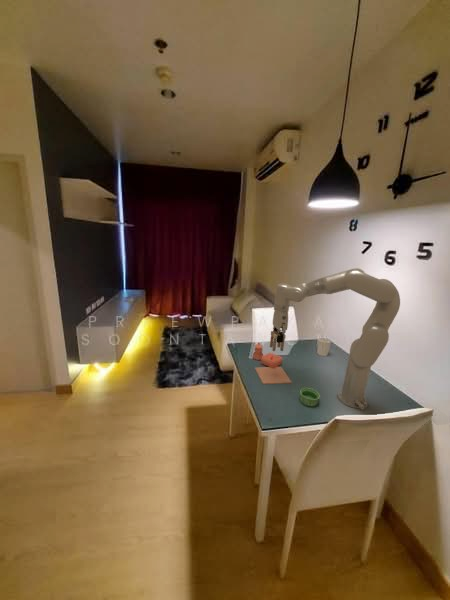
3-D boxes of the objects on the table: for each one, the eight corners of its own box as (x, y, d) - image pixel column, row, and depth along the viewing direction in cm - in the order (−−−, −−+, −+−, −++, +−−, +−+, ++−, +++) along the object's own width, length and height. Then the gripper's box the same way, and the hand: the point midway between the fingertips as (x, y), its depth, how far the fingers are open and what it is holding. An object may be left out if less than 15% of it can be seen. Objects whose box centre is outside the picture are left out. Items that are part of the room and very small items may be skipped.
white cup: (322, 350, 174) (324, 337, 171) (331, 355, 166) (333, 342, 164) (313, 352, 171) (315, 338, 168) (321, 357, 164) (324, 343, 161)
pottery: (281, 363, 151) (283, 348, 149) (273, 368, 144) (274, 353, 142) (258, 354, 163) (259, 339, 161) (249, 358, 157) (250, 343, 154)
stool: (283, 351, 132) (285, 335, 130) (272, 351, 131) (274, 335, 129) (279, 346, 138) (281, 331, 135) (269, 346, 137) (270, 331, 134)
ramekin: (305, 408, 113) (306, 400, 112) (295, 396, 121) (296, 388, 120) (322, 406, 115) (323, 398, 114) (311, 394, 124) (313, 386, 122)
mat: (291, 383, 132) (291, 382, 132) (263, 384, 130) (263, 383, 129) (280, 367, 147) (280, 366, 147) (254, 368, 145) (254, 367, 145)
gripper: (295, 312, 121) (290, 346, 125) (282, 303, 137) (278, 333, 142) (280, 312, 120) (276, 346, 124) (269, 302, 136) (265, 333, 141)
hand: (277, 339), depth 133 cm, fingers closed on stool, 6 cm apart
